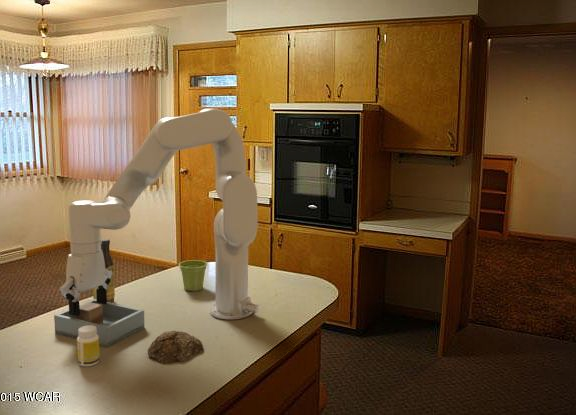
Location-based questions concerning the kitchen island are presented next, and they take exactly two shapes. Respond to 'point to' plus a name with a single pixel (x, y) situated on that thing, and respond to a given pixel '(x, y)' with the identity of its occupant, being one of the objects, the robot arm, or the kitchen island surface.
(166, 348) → the bread roll
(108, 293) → the sauce bottle
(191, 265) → the plant pot
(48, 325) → the kitchen island surface
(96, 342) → the supplement bottle
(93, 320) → the walnut block
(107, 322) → the tote
